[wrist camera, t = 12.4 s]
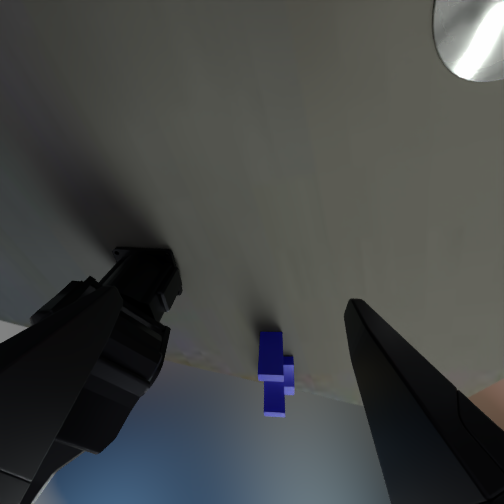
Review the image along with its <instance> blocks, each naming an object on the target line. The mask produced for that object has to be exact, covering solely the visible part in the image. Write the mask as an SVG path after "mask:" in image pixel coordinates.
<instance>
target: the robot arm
mask: <svg viewBox="0 0 504 504" xmlns="http://www.w3.org/2000/svg"><path fill="white" fill-rule="evenodd" d="M117 251H118V252H117ZM112 252H113V255H114V257H115V259H116V262H117V263H116V265H115V266H114V267H113V268H112V269H111V270H110V271H109V272H108V273H107V274H106V275H105V276H104V277H103V278H102V279H101V281H100V282H99V283H98V282H97V281H95V280H96V279H94V278H93V277H91V276H89V277H88V278H87V279H86V280H85V281H84V282H83V281H71V282H70V283H69V284H68V285H67V286H66V287H65V288H64V289H63V290H62V291H60V292H59V293H58V294H57V295H56V296H55V297H54V298H52V299H51V300H50V301H49V302H48V303H46V304H45V305H44V306H43V307H42V308H40V309H39V310H38V311H37V312H36V313H35V314H34V315H33V316H31V317H30V327H29V328H27V329H25V330H24V331H22V332H20V333H18V334H16V335H15V336H13V337H11V338H9V339H7V340H6V341H4V342H2V343H0V504H34V503H35V501H36V500H37V498H38V497H39V496H40V494H41V493H42V491H43V490H44V488H45V487H46V485H47V484H48V483H49V481H50V480H51V479H52V477H53V476H54V475H55V473H56V472H57V471H58V470H59V469H61V468H62V467H64V466H65V465H67V464H68V463H69V462H71V461H72V460H74V459H75V458H76V457H78V456H79V455H81V454H82V453H84V452H85V451H87V452H90V453H93V454H99V453H100V452H102V451H103V450H104V449H105V448H106V447H107V446H108V445H109V444H110V443H111V442H112V441H113V440H114V439H115V438H116V437H117V435H118V433H119V431H120V429H121V428H122V426H123V424H124V422H125V420H126V419H127V417H128V415H129V413H130V411H131V410H132V408H133V407H134V405H135V404H136V402H137V401H138V400H139V398H140V397H141V396H142V395H144V394H145V393H146V392H147V390H148V389H149V388H150V387H151V386H152V384H153V383H154V381H155V379H156V378H157V376H158V374H159V372H160V370H161V368H162V365H163V362H164V358H165V353H166V348H167V344H168V339H169V334H170V330H171V329H170V328H169V327H167V326H164V325H163V324H161V323H160V322H159V321H160V320H161V318H162V316H163V314H164V312H168V311H169V310H170V308H171V306H172V304H173V302H174V300H175V298H176V296H177V295H181V293H182V287H181V286H182V282H181V278H180V274H179V270H178V268H177V267H176V264H175V260H174V256H173V253H172V251H171V250H169V249H152V248H126V247H116V248H115V249H114V250H113V251H112ZM166 253H167V254H169V255H167V254H166ZM344 321H345V327H346V333H347V339H348V346H349V352H350V357H351V362H352V366H353V369H354V373H355V376H356V380H357V384H358V387H359V391H360V394H361V398H362V401H363V405H364V408H365V411H366V416H367V419H368V422H369V426H370V430H371V433H372V437H373V440H374V444H375V448H376V451H377V455H378V458H379V462H380V465H381V469H382V473H383V476H384V480H385V483H386V487H387V490H388V494H389V497H390V501H391V504H504V431H503V430H502V429H501V428H500V427H498V426H497V425H496V424H495V423H494V422H493V421H492V420H491V419H490V418H489V417H488V416H486V415H485V414H484V413H483V412H482V411H481V410H480V409H479V408H478V407H477V406H475V405H474V404H473V403H472V402H471V401H470V400H469V399H468V398H467V397H466V396H465V395H464V394H463V393H462V392H460V391H459V390H457V388H456V387H455V386H454V385H453V384H452V383H451V382H450V381H449V380H448V379H446V378H445V377H444V376H443V375H442V374H441V373H440V372H439V371H438V370H437V369H436V368H435V367H434V366H433V365H432V364H431V363H429V362H428V361H427V360H426V359H425V358H424V357H423V356H422V355H421V354H420V353H419V352H418V351H417V350H416V349H415V348H413V347H412V346H411V345H410V344H409V343H408V342H407V341H406V340H405V339H404V338H403V337H402V336H401V335H400V334H399V333H398V332H396V331H395V330H394V329H393V328H392V327H391V326H390V325H389V324H388V323H387V322H386V321H385V320H384V319H383V318H382V317H380V316H379V315H378V314H377V313H376V312H375V311H374V310H373V309H372V308H371V307H370V306H369V305H368V304H367V303H366V302H365V301H363V300H362V299H350V300H349V301H348V304H347V307H346V310H345V313H344Z"/></svg>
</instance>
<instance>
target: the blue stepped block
mask: <svg viewBox="0 0 504 504" xmlns="http://www.w3.org/2000/svg"><path fill="white" fill-rule="evenodd" d="M258 379H259V381H264V415H265V416H272V417H285V397H284V395H294V361H293V357H289V356H283V338H282V332H260V346H259V362H258Z"/></svg>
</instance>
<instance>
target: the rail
mask: <svg viewBox="0 0 504 504" xmlns="http://www.w3.org/2000/svg"><path fill="white" fill-rule="evenodd" d="M432 28H433V39H434V43H435V48H436V51H437V53H438V56H439V58H440V60H441V61H442V63H443V64H444V66H445V67H446V68H447V69H448V70H449V71H450V72H451V73H453V74H454V75H456V76H457V77H460V78H462V79H465V80H469V81H474V82H489V81H497V80H501V79H504V0H435V1H434V8H433V22H432Z"/></svg>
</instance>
